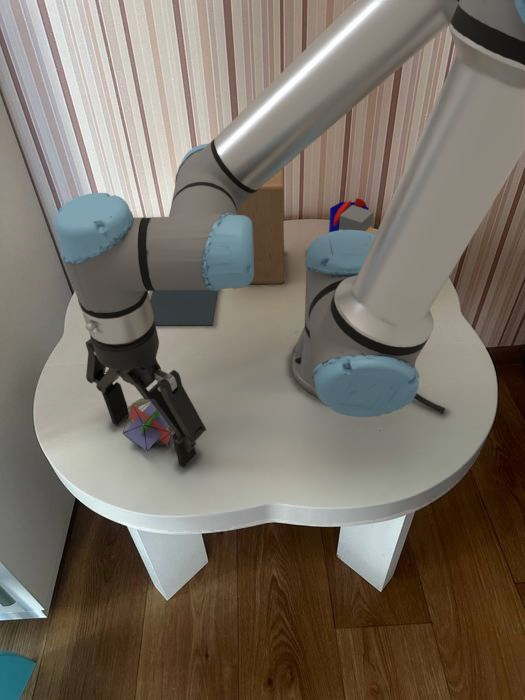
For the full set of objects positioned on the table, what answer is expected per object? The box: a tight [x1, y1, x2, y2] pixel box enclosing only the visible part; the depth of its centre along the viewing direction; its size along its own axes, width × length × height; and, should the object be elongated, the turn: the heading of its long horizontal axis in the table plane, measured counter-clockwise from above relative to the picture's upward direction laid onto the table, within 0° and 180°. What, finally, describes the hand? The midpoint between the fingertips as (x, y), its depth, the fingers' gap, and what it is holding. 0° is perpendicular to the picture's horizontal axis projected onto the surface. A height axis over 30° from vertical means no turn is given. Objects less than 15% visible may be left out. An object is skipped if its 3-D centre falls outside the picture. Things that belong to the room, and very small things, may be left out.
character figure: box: [339, 205, 374, 233], centre depth 94 cm, size 8×10×18 cm
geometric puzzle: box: [121, 397, 173, 453], centre depth 78 cm, size 7×7×8 cm
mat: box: [150, 290, 219, 327], centre depth 102 cm, size 14×12×1 cm
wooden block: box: [237, 168, 285, 285], centre depth 101 cm, size 10×10×20 cm
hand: (153, 438), depth 80 cm, fingers open, 12 cm apart
